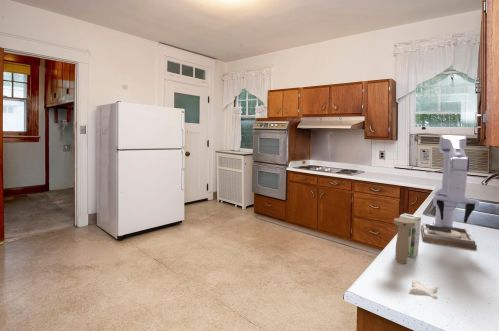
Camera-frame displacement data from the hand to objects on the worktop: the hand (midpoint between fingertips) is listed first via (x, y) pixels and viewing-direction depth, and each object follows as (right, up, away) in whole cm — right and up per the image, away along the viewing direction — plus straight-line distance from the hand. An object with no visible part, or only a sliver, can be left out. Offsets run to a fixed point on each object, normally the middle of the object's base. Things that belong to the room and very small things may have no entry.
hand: (453, 220), depth 116 cm
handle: (-29, -12, -16) cm, 35 cm away
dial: (+2, -7, +9) cm, 12 cm away
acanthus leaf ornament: (-32, -14, -33) cm, 48 cm away
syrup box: (-23, -11, -8) cm, 26 cm away
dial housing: (+3, -9, +9) cm, 13 cm away
